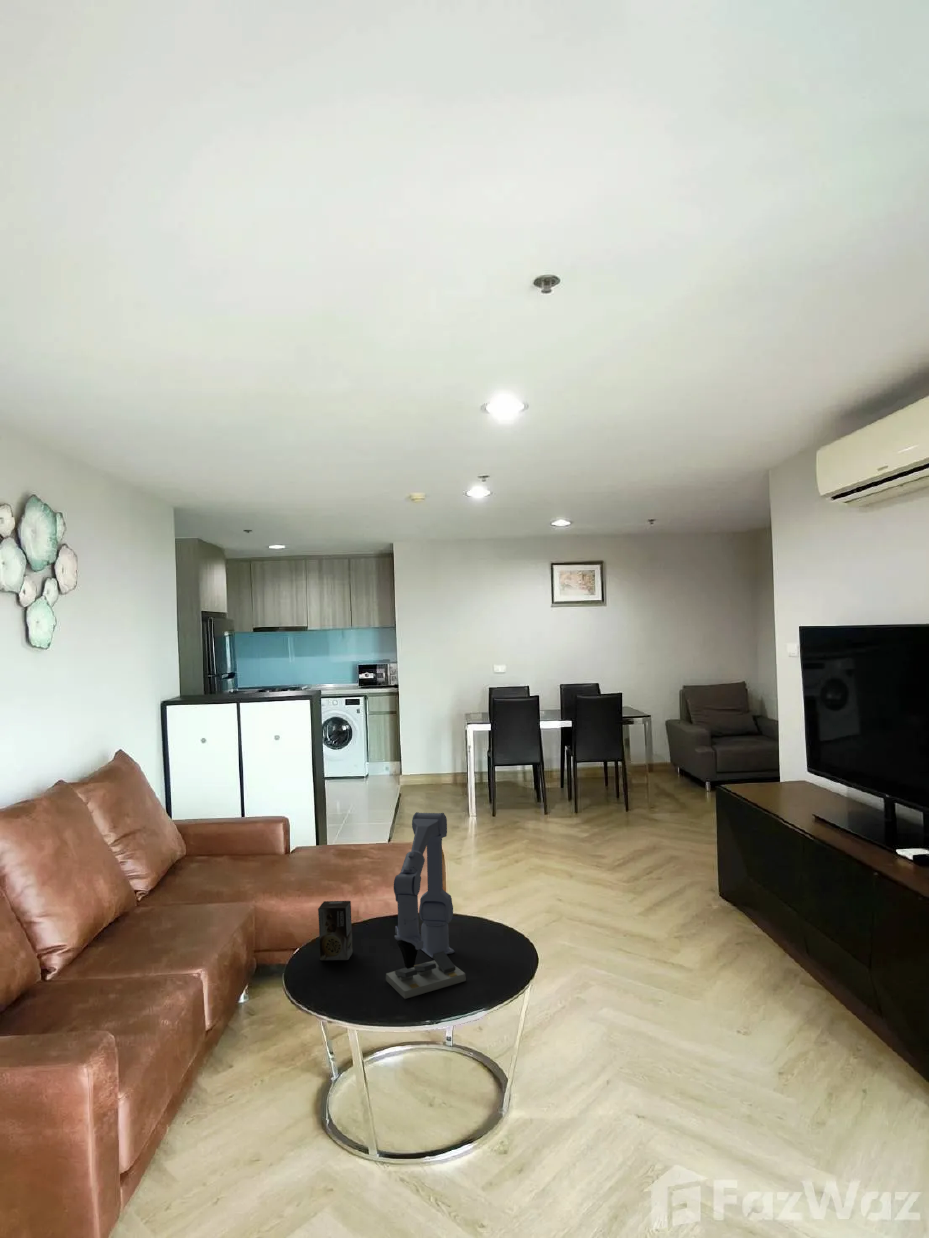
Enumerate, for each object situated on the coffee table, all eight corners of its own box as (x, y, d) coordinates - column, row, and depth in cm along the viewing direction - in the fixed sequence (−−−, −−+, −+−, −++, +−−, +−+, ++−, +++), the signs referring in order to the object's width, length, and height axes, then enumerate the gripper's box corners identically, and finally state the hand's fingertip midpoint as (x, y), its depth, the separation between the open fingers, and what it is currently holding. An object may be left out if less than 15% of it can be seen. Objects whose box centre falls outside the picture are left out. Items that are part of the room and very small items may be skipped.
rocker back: (432, 957, 208) (433, 953, 208) (443, 954, 210) (443, 951, 209) (444, 973, 201) (444, 969, 201) (455, 970, 203) (455, 966, 203)
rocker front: (395, 974, 202) (395, 970, 202) (406, 971, 203) (406, 967, 204) (405, 977, 196) (405, 972, 196) (417, 974, 197) (416, 969, 198)
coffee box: (353, 951, 224) (351, 900, 225) (347, 960, 218) (346, 907, 219) (325, 951, 225) (323, 900, 226) (319, 960, 219) (317, 907, 220)
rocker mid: (414, 970, 205) (414, 966, 205) (425, 967, 206) (424, 963, 207) (425, 971, 199) (424, 966, 199) (436, 967, 200) (435, 963, 201)
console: (386, 980, 203) (385, 970, 204) (444, 964, 213) (444, 954, 213) (404, 998, 192) (404, 987, 192) (465, 980, 201) (465, 970, 201)
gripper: (384, 912, 202) (386, 961, 202) (405, 928, 190) (407, 980, 189) (407, 907, 206) (408, 955, 205) (429, 923, 193) (431, 973, 192)
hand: (409, 967), depth 197 cm, fingers closed
